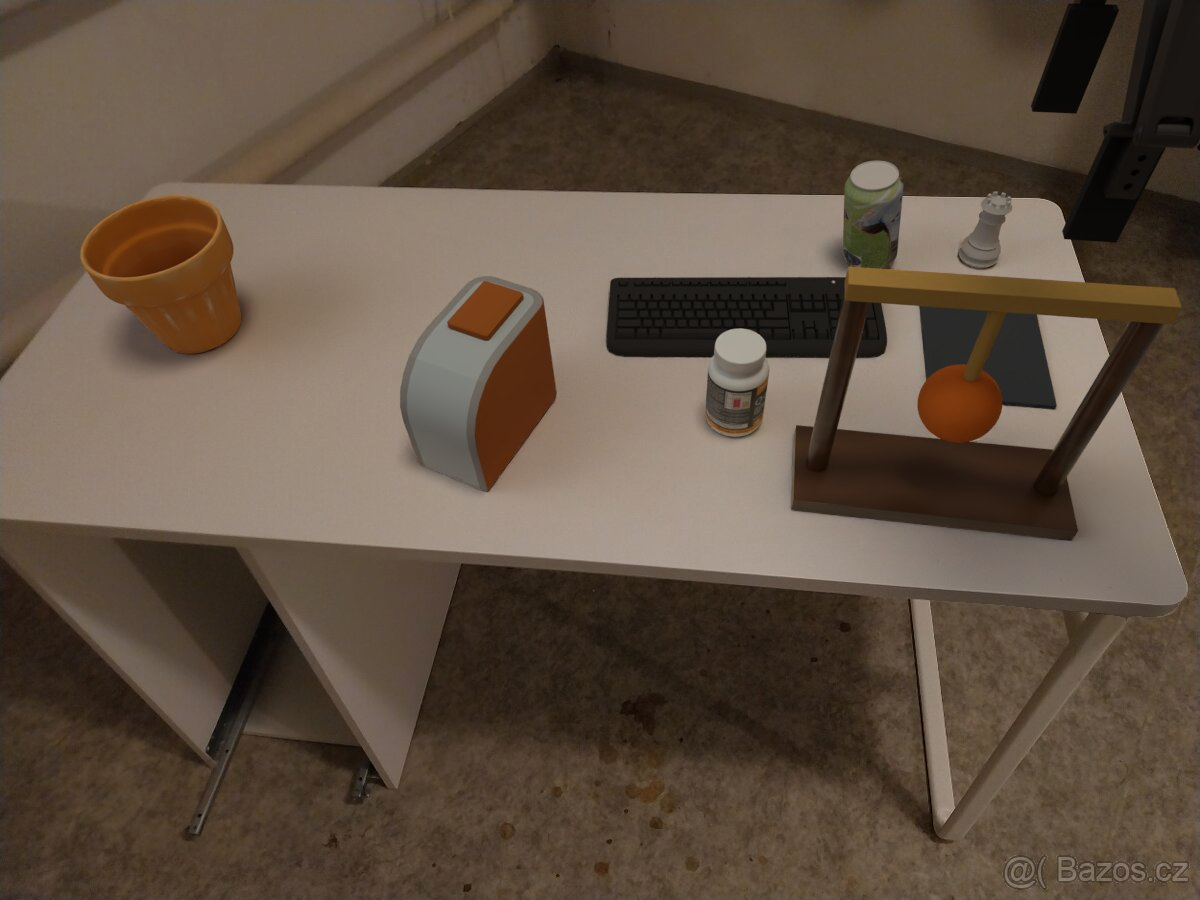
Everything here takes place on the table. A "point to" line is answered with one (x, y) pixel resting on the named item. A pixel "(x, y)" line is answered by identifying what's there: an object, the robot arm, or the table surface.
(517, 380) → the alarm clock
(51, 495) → the table surface
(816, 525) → the table surface
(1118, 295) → the ball on t-bar
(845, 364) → the hanger rack
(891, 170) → the beverage can
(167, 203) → the flower pot
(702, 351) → the keyboard
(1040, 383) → the slate mat
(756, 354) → the pill bottle
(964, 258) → the rook chess piece
